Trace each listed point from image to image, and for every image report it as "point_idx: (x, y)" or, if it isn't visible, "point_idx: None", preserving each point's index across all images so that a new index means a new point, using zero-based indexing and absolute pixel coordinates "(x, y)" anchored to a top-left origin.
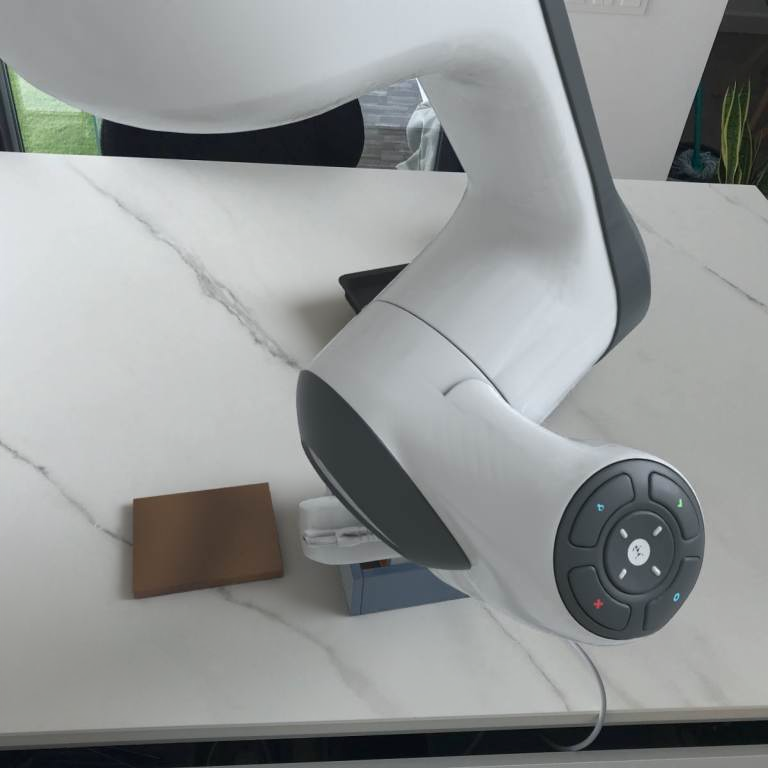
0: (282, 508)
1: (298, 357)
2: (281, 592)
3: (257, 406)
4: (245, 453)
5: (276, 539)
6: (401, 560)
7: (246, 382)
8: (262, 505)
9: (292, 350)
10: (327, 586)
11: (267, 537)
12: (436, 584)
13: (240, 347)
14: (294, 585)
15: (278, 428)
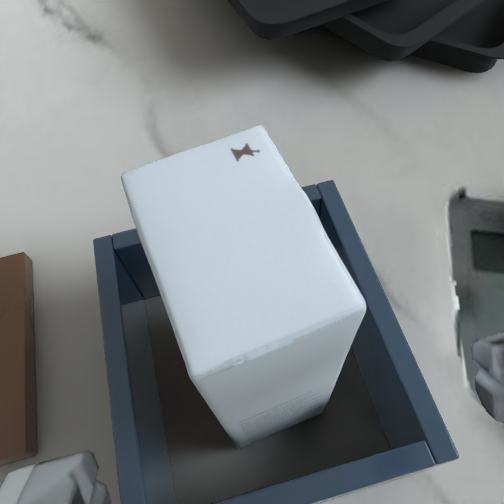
0: (52, 297)
1: (104, 27)
2: None
3: (34, 111)
4: (3, 196)
5: (21, 378)
6: (259, 431)
7: (22, 75)
8: (6, 302)
9: (96, 18)
10: None
11: (5, 375)
12: (341, 495)
13: (21, 23)
14: None
15: (62, 145)
